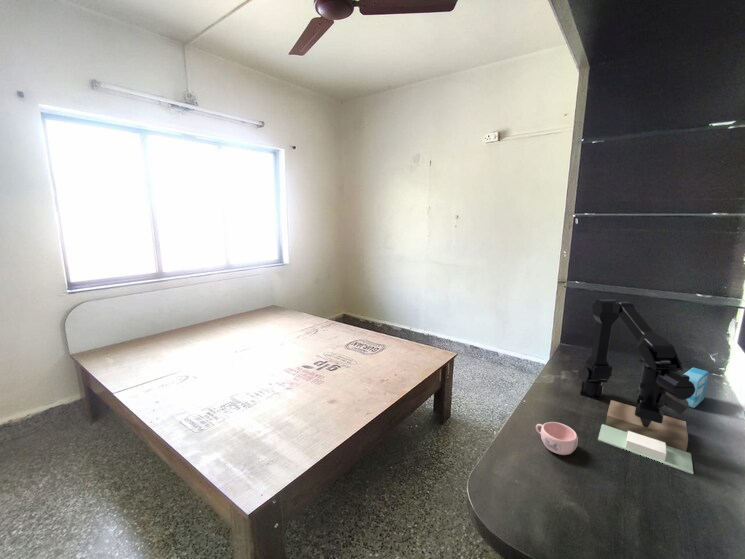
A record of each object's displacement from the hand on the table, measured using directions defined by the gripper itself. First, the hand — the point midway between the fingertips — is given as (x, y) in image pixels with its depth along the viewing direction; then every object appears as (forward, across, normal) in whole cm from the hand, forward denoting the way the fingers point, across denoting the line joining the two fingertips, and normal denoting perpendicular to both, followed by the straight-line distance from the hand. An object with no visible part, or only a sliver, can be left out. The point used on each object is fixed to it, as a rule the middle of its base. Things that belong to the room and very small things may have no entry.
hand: (645, 426), depth 103 cm
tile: (+2, -6, 0) cm, 6 cm away
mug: (+5, -21, +21) cm, 30 cm away
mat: (+5, -4, 0) cm, 6 cm away
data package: (+5, +39, -13) cm, 41 cm away
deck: (+5, +7, 0) cm, 8 cm away
